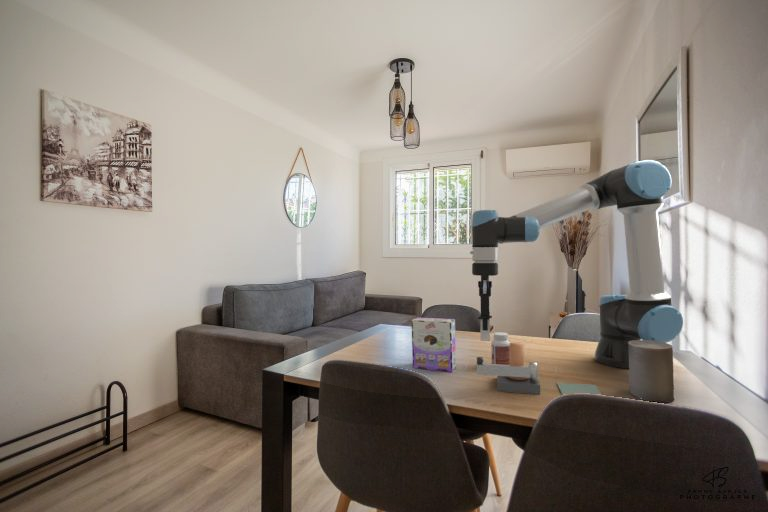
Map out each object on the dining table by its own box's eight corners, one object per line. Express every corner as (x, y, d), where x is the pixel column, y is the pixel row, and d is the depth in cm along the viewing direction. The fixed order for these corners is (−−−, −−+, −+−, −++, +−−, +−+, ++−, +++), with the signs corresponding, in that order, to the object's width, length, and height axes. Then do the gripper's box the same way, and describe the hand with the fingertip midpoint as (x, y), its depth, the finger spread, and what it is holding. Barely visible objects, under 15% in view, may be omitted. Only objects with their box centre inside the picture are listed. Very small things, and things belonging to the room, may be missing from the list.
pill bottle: (515, 367, 126) (514, 333, 126) (502, 370, 123) (502, 336, 123) (500, 362, 131) (499, 330, 131) (487, 366, 128) (487, 333, 128)
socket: (535, 380, 113) (535, 372, 113) (540, 394, 102) (540, 385, 102) (497, 378, 116) (497, 369, 116) (497, 391, 105) (497, 382, 105)
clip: (537, 380, 105) (537, 359, 105) (538, 383, 103) (538, 361, 103) (477, 376, 109) (476, 356, 109) (477, 378, 107) (476, 358, 107)
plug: (529, 382, 111) (528, 341, 111) (531, 391, 105) (531, 347, 104) (504, 380, 113) (503, 340, 113) (505, 389, 107) (504, 346, 106)
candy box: (456, 367, 127) (455, 318, 127) (452, 372, 122) (451, 321, 121) (417, 363, 133) (416, 316, 133) (411, 368, 127) (410, 319, 127)
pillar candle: (680, 396, 99) (678, 339, 99) (665, 406, 93) (664, 345, 93) (638, 386, 107) (636, 333, 107) (622, 394, 101) (621, 338, 101)
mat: (595, 386, 107) (595, 385, 107) (605, 400, 97) (605, 398, 97) (556, 383, 110) (556, 382, 110) (562, 396, 100) (562, 395, 100)
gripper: (473, 261, 121) (473, 335, 121) (470, 262, 108) (471, 344, 109) (497, 261, 119) (497, 336, 119) (498, 262, 106) (498, 346, 107)
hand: (485, 340), depth 114 cm, fingers closed
